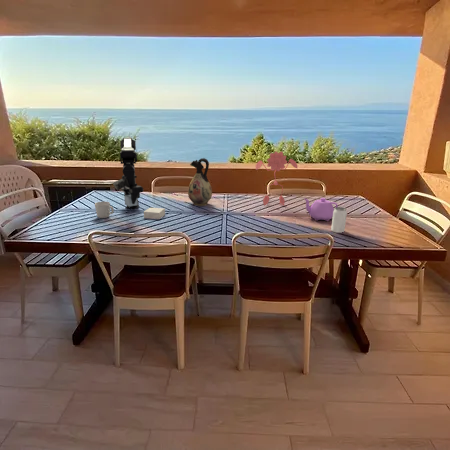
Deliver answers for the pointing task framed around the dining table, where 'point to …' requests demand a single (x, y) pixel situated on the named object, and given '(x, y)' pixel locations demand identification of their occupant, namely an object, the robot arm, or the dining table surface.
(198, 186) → the ceramic jug
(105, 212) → the cup
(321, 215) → the teapot
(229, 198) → the dining table surface
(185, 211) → the dining table surface
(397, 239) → the dining table surface
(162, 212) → the plinth
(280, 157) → the pink artificial flower
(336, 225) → the can
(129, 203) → the cube
